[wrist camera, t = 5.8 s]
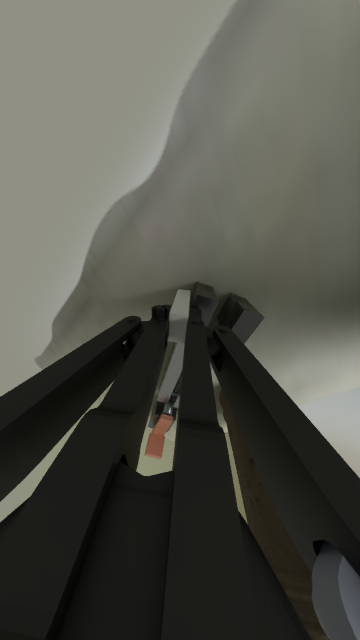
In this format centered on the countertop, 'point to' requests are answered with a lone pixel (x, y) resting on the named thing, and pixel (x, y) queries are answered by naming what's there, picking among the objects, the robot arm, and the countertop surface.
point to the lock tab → (158, 437)
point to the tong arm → (207, 304)
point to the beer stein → (272, 530)
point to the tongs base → (232, 315)
